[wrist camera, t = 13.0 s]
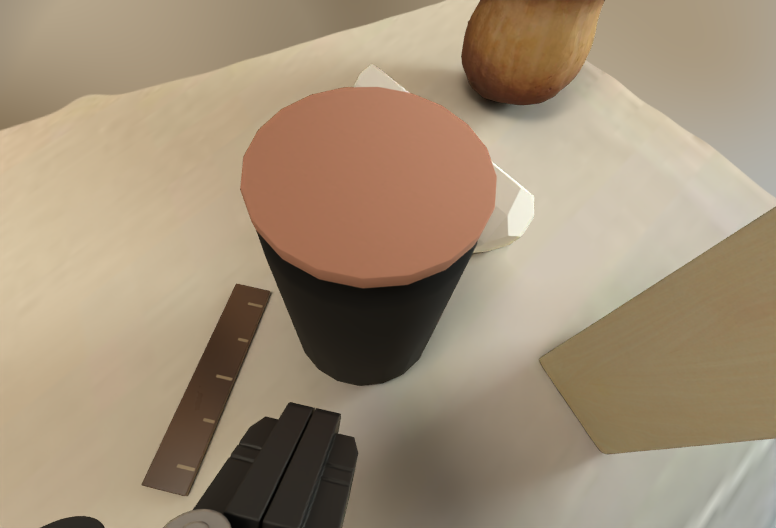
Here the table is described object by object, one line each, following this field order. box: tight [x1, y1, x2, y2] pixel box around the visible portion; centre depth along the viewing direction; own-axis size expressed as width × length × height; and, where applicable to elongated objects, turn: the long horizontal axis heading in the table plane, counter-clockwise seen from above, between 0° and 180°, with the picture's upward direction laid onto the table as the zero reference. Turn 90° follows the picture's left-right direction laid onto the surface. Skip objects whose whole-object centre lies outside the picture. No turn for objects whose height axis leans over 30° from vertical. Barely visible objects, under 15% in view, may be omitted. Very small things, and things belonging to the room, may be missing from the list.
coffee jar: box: [240, 87, 497, 386], centre depth 23 cm, size 11×11×18 cm
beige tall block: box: [539, 207, 776, 454], centre depth 21 cm, size 8×7×21 cm
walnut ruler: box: [142, 284, 271, 496], centre depth 28 cm, size 15×3×1 cm, turn 168°
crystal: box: [354, 64, 534, 253], centre depth 37 cm, size 7×7×24 cm
